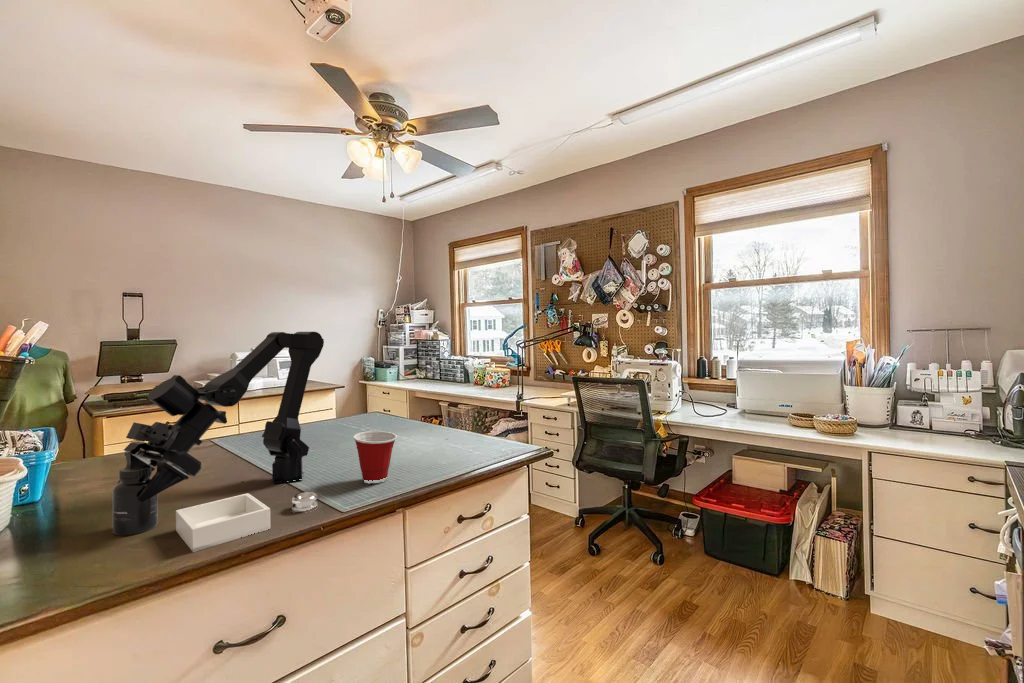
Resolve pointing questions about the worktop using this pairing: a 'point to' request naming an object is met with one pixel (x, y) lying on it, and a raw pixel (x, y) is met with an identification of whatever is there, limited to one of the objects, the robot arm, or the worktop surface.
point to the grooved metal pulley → (304, 501)
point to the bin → (222, 521)
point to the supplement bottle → (133, 502)
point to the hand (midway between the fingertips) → (127, 496)
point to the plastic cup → (374, 453)
